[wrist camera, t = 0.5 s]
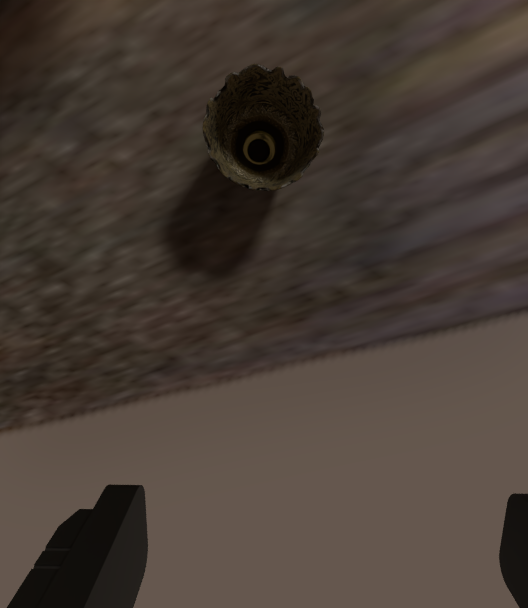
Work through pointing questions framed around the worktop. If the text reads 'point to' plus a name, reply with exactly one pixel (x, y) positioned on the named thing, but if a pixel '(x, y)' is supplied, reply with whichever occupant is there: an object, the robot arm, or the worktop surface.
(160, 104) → the worktop surface
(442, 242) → the worktop surface
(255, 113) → the cup
